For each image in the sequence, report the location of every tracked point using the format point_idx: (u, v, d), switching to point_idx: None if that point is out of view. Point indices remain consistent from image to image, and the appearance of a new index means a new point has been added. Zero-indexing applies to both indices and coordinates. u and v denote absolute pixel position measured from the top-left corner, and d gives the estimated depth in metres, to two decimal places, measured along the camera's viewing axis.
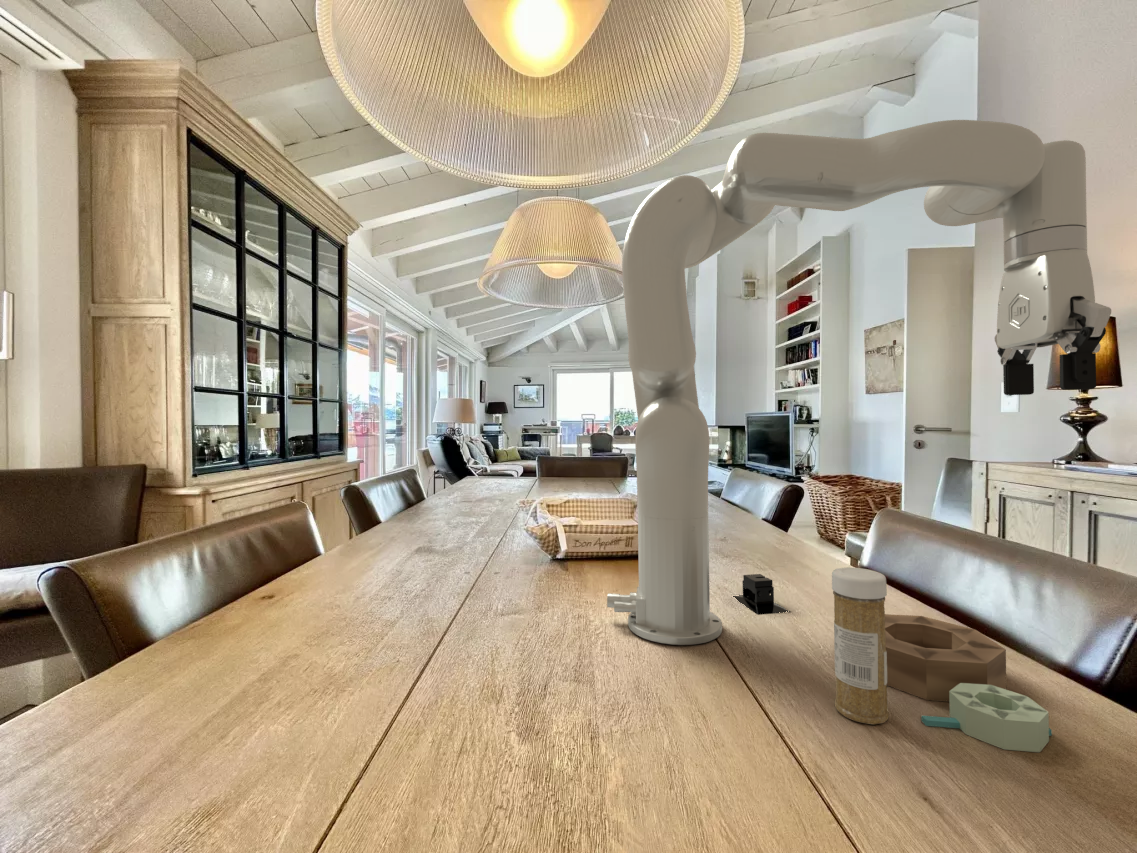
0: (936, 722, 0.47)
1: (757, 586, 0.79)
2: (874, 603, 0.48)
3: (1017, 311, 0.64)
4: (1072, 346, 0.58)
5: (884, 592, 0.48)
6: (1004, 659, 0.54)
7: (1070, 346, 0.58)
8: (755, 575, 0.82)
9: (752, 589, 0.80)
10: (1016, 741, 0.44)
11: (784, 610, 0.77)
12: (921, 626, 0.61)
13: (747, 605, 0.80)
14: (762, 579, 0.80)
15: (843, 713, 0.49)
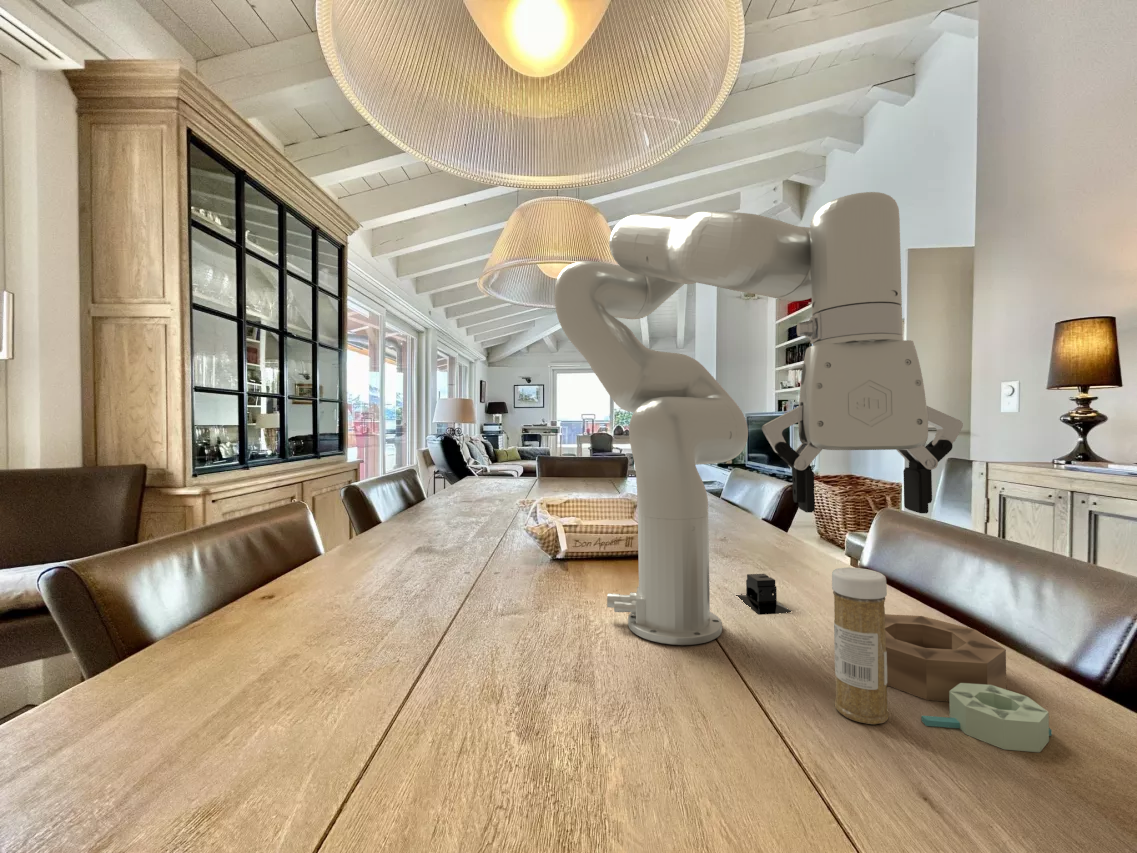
0: (936, 722, 0.47)
1: (760, 585, 0.79)
2: (874, 603, 0.48)
3: (867, 403, 0.47)
4: (937, 461, 0.47)
5: (884, 592, 0.48)
6: (1004, 659, 0.54)
7: (932, 461, 0.47)
8: (758, 574, 0.82)
9: (755, 588, 0.80)
10: (1016, 741, 0.44)
11: (786, 610, 0.77)
12: (921, 626, 0.61)
13: (749, 604, 0.80)
14: (765, 579, 0.80)
15: (843, 713, 0.49)
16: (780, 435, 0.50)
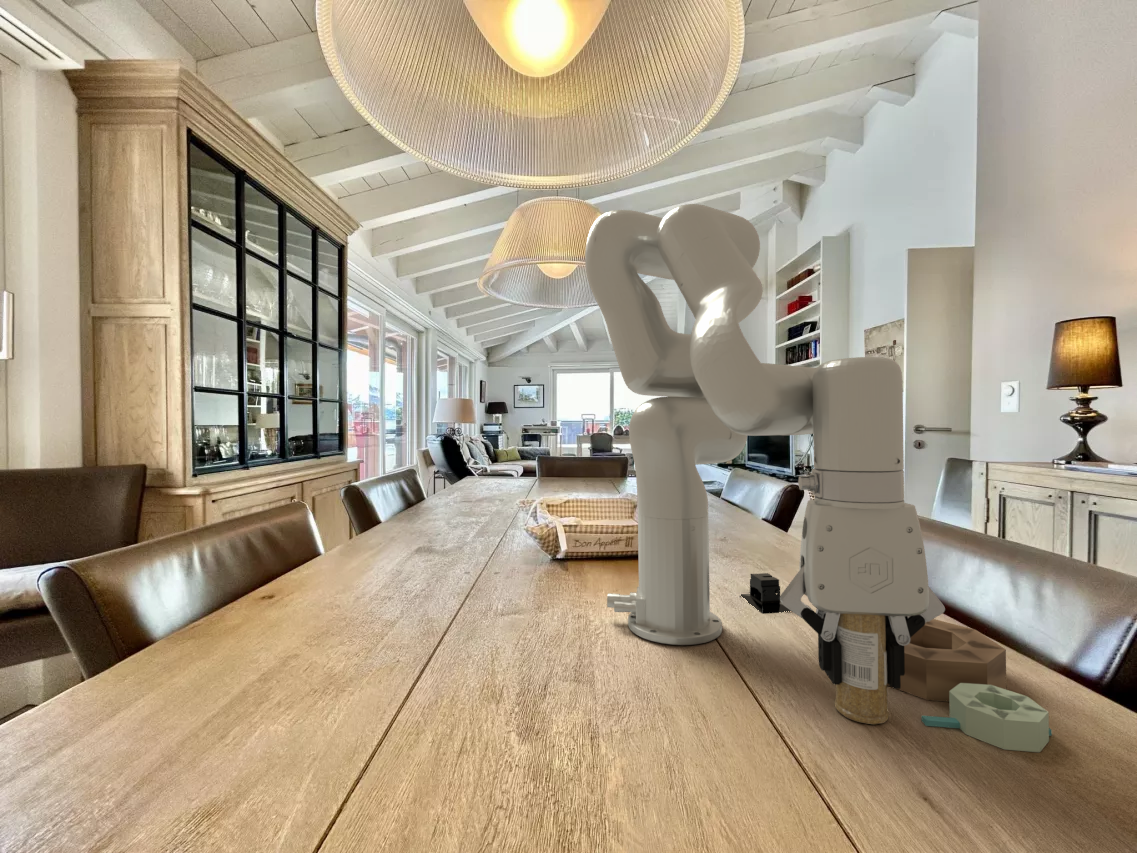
0: (936, 722, 0.47)
1: (763, 585, 0.79)
2: None
3: (868, 569, 0.47)
4: (909, 640, 0.48)
5: None
6: (1004, 659, 0.54)
7: (906, 638, 0.48)
8: (762, 574, 0.82)
9: (758, 588, 0.80)
10: (1016, 741, 0.44)
11: (790, 610, 0.77)
12: None
13: (753, 604, 0.80)
14: (769, 579, 0.80)
15: (843, 713, 0.49)
16: (801, 604, 0.50)
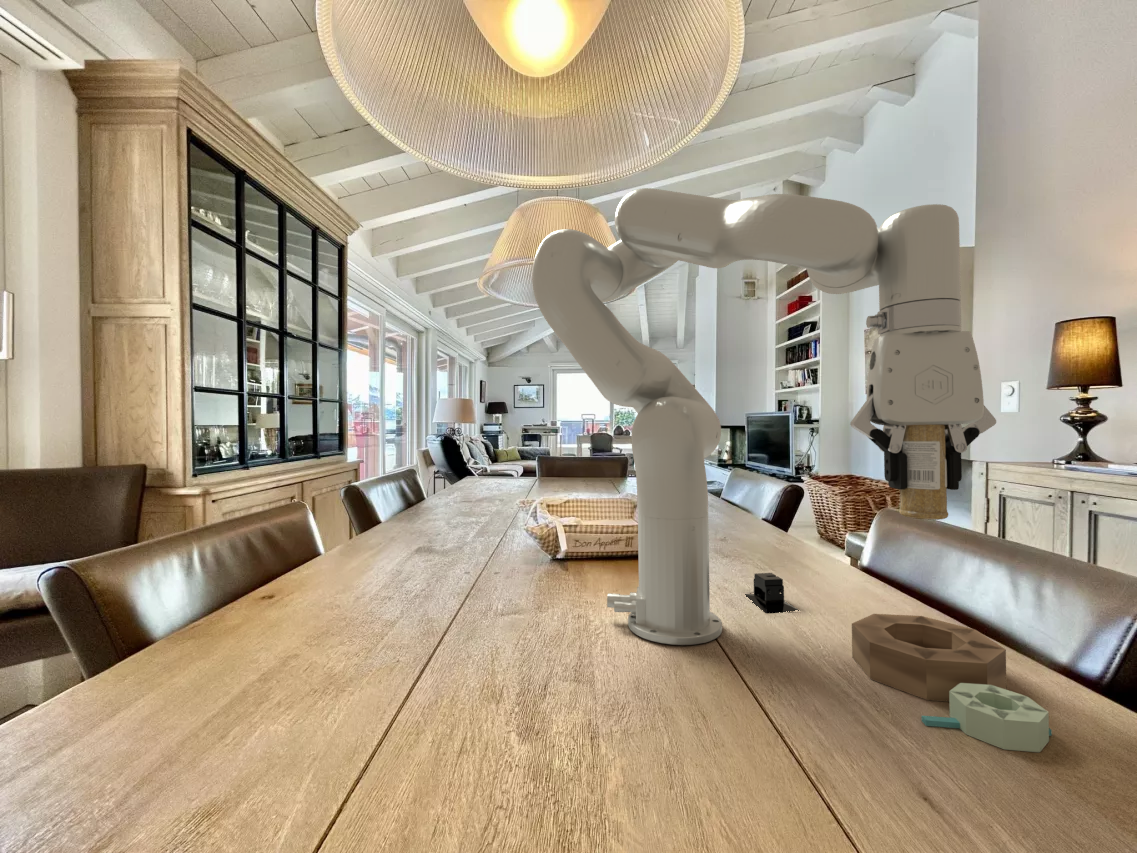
0: (936, 722, 0.47)
1: (767, 584, 0.80)
2: None
3: (931, 384, 0.55)
4: (966, 448, 0.56)
5: None
6: (1004, 659, 0.54)
7: (963, 446, 0.56)
8: (766, 574, 0.83)
9: (762, 587, 0.80)
10: (1016, 741, 0.44)
11: (794, 609, 0.78)
12: (921, 626, 0.61)
13: (757, 603, 0.80)
14: (772, 578, 0.80)
15: (908, 514, 0.57)
16: (870, 425, 0.58)
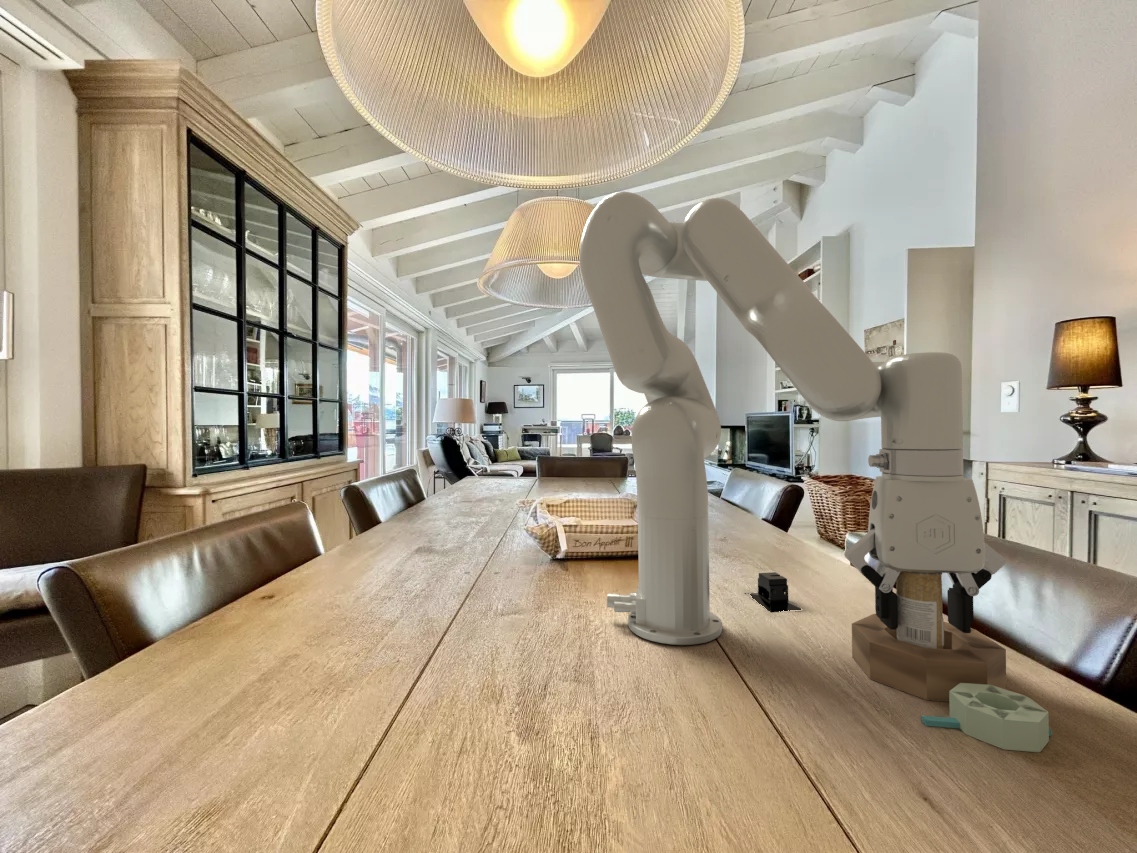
0: (936, 722, 0.47)
1: (771, 584, 0.80)
2: (933, 576, 0.56)
3: (933, 533, 0.55)
4: (978, 591, 0.56)
5: None
6: (1004, 659, 0.54)
7: (975, 589, 0.56)
8: (770, 573, 0.83)
9: (766, 587, 0.81)
10: (1016, 741, 0.44)
11: (798, 608, 0.78)
12: None
13: (761, 603, 0.81)
14: (777, 578, 0.80)
15: None
16: (863, 561, 0.58)
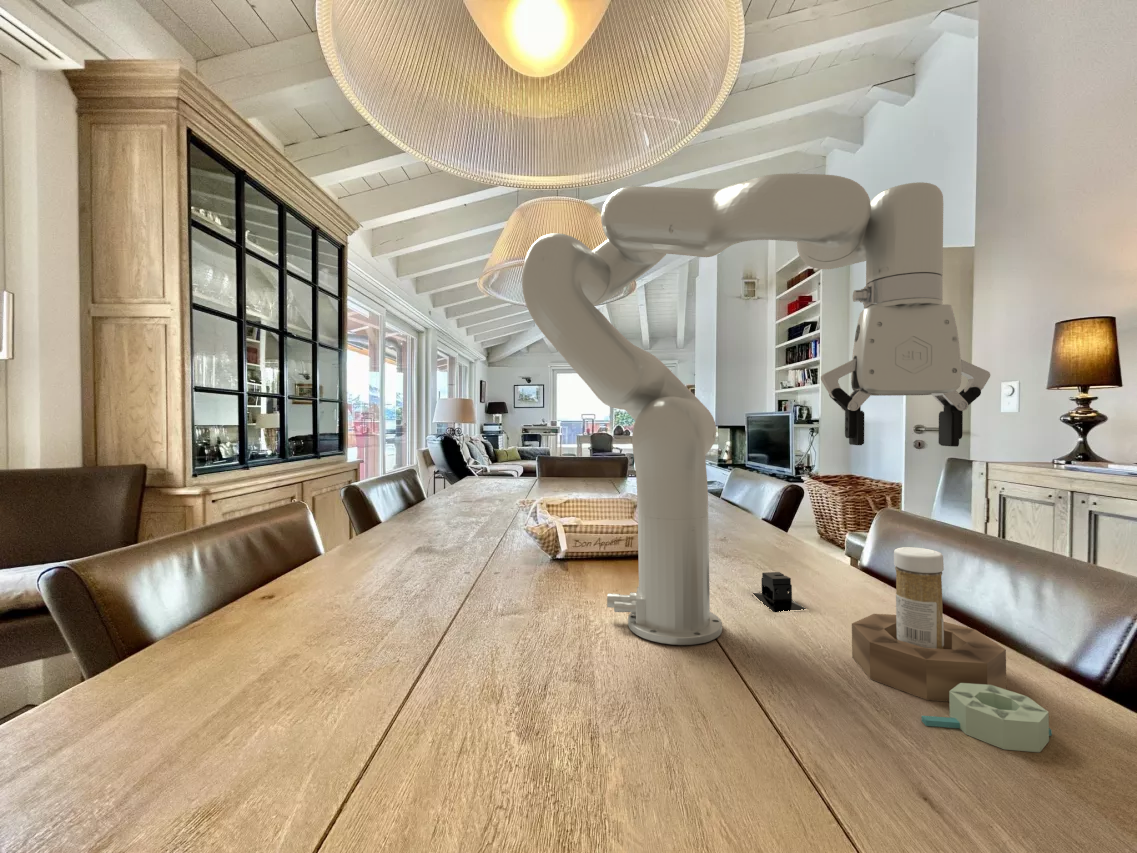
0: (936, 722, 0.47)
1: (775, 583, 0.80)
2: (933, 576, 0.56)
3: (911, 355, 0.58)
4: (967, 404, 0.58)
5: (942, 567, 0.56)
6: (1004, 659, 0.54)
7: (964, 403, 0.58)
8: (774, 573, 0.83)
9: (770, 586, 0.81)
10: (1016, 741, 0.44)
11: (802, 608, 0.78)
12: None
13: (765, 602, 0.81)
14: (780, 577, 0.81)
15: None
16: (836, 382, 0.61)
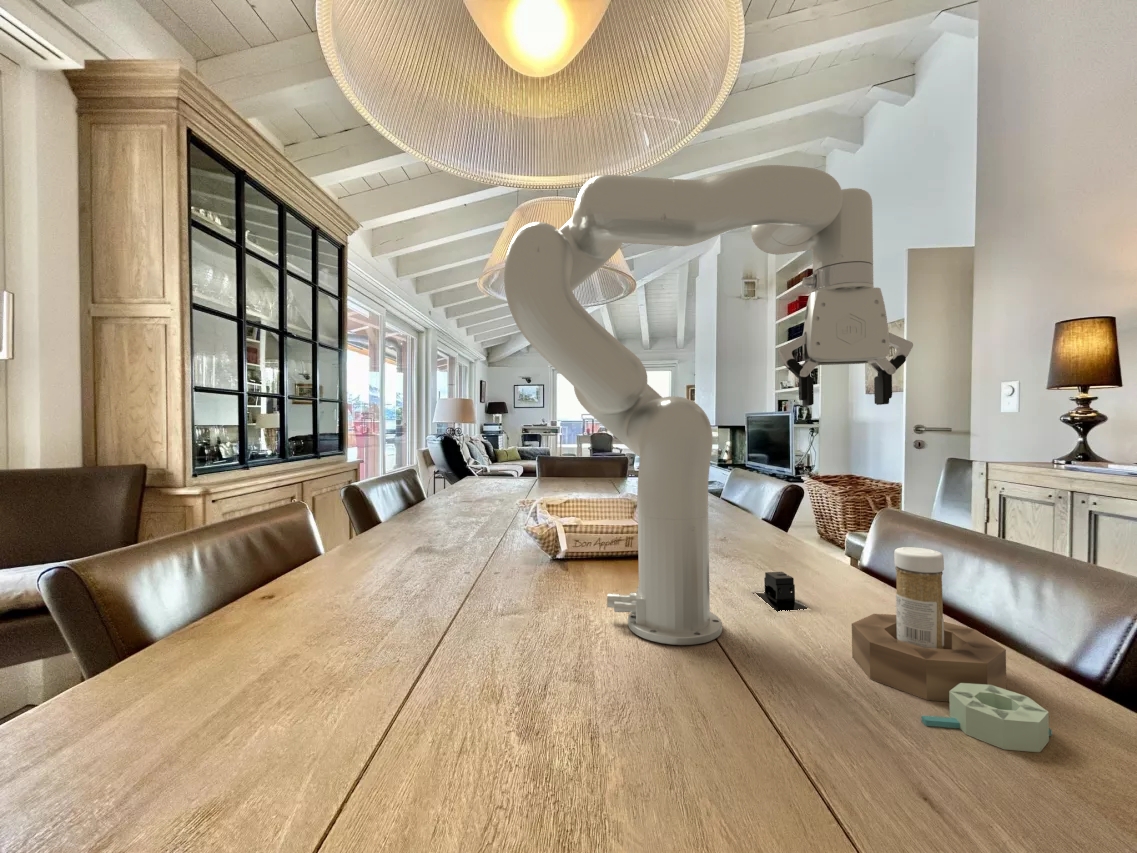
0: (936, 722, 0.47)
1: (778, 583, 0.80)
2: (934, 576, 0.56)
3: (849, 329, 0.70)
4: (895, 369, 0.71)
5: (942, 567, 0.56)
6: (1004, 659, 0.54)
7: (892, 368, 0.71)
8: (776, 572, 0.83)
9: (773, 586, 0.81)
10: (1016, 741, 0.44)
11: (805, 607, 0.78)
12: None
13: (768, 602, 0.81)
14: (783, 577, 0.81)
15: None
16: (790, 354, 0.74)
